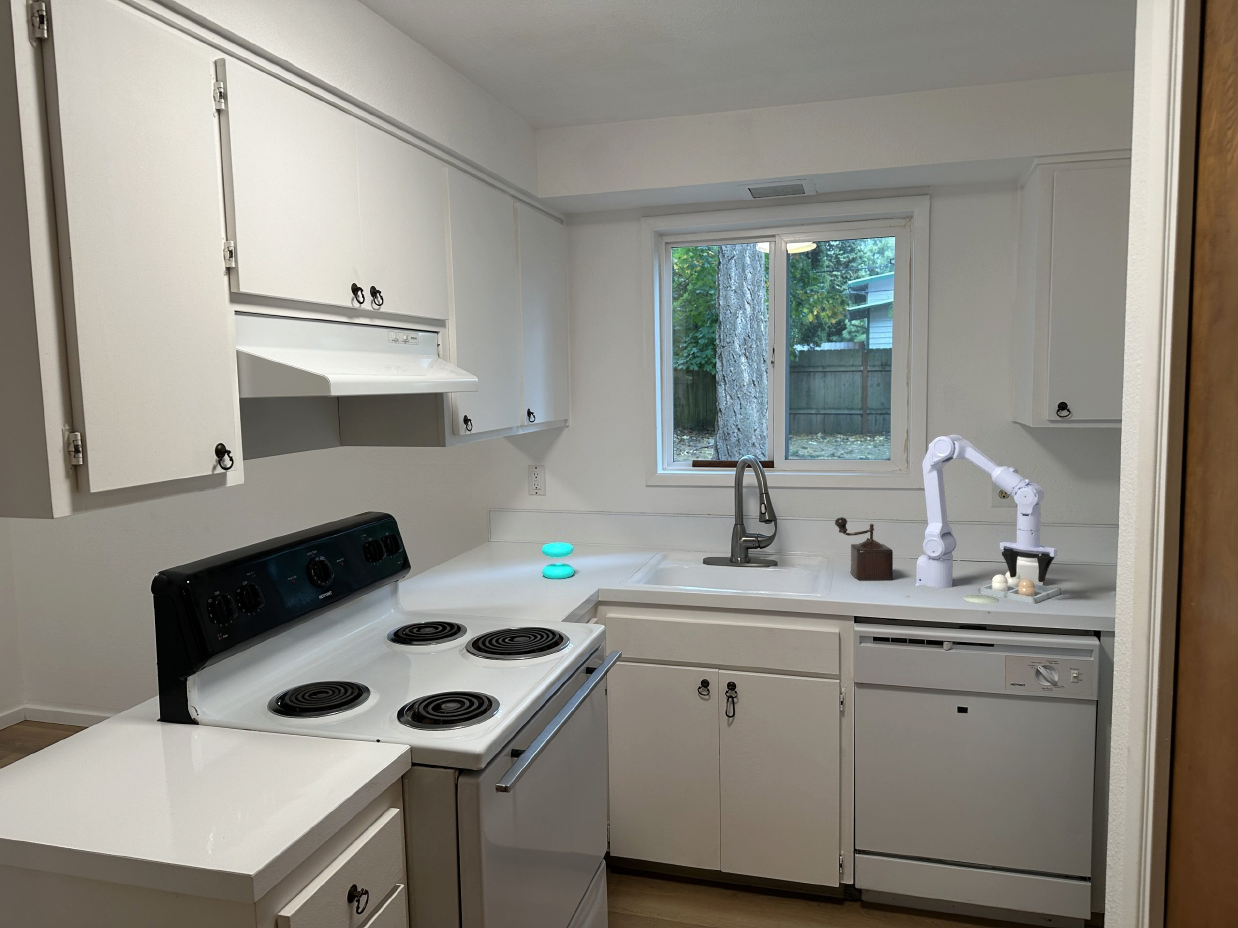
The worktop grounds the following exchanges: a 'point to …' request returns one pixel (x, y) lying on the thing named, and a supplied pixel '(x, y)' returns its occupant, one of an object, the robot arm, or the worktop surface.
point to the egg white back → (1013, 580)
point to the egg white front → (1000, 583)
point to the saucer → (980, 599)
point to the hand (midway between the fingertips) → (1027, 579)
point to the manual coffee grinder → (868, 556)
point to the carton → (1040, 594)
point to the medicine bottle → (1028, 567)
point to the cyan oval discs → (557, 568)
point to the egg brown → (1026, 588)
